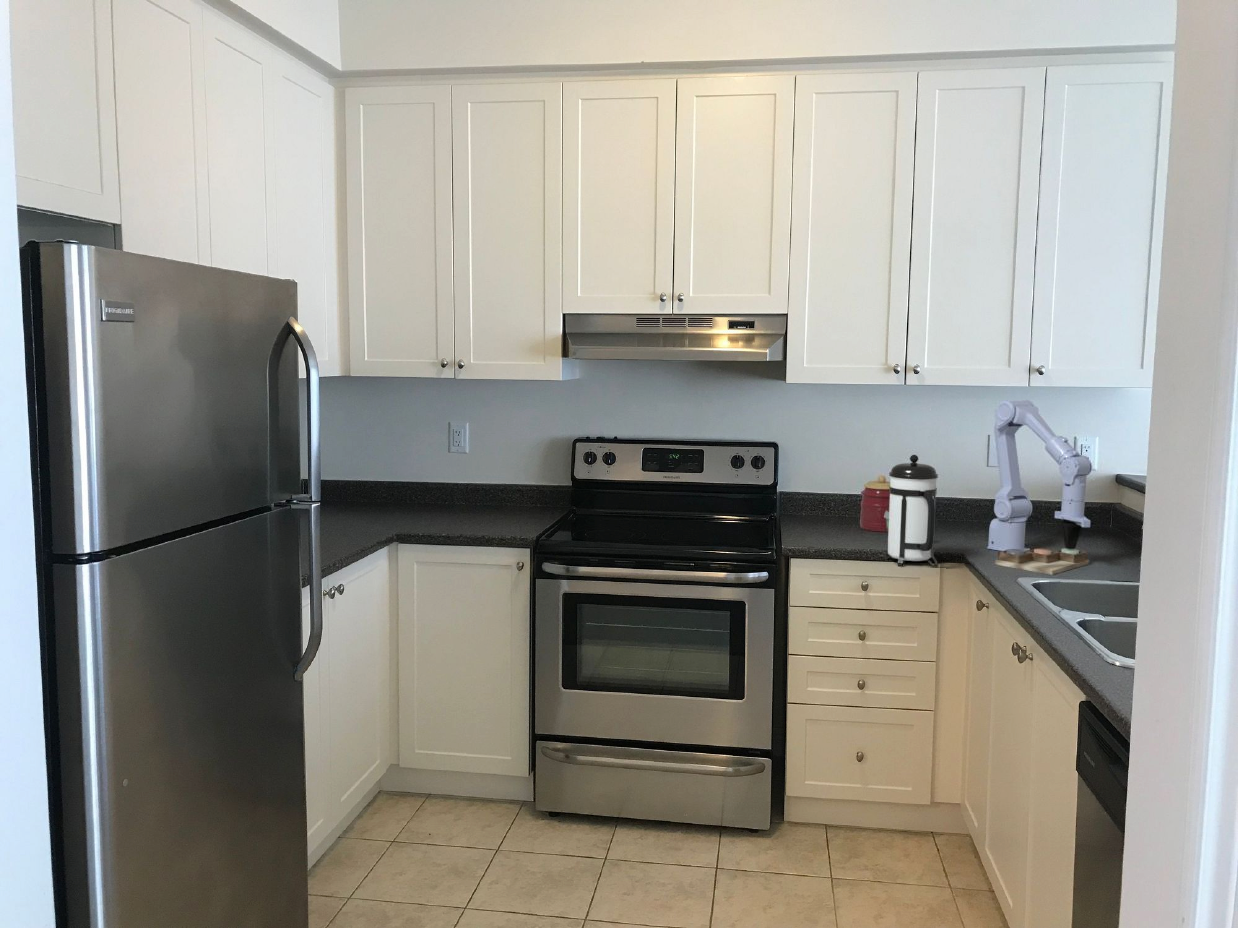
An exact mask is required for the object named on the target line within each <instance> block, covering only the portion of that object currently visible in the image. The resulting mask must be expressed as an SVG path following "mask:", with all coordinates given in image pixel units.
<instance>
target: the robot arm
mask: <svg viewBox="0 0 1238 928" xmlns="http://www.w3.org/2000/svg"><path fill="white" fill-rule="evenodd" d="M993 412H994V418H995V423H994V428H993V431H994V432H993V434H994V441H995V449H996V456H997V466H998V474H999V480H1000V481H999V482H1000V490H998V492H997V493H995V496H994V497H995V498H994V505H993V512H994V515H995V516H996V518H993V519H992V520H991V522H990V524H989V527H988V529H989V530H988V546H986V547H987V548H986V549H988V550H993V551H998V552H1000V551H1004V550H1007V549H1019V550H1023V551H1024V552H1026V551H1030V550H1031V548H1029V547H1025V540H1026V536H1025V535H1026V523H1027V522H1026V521H1028V518H1029V517H1030V516H1031V515H1032V512H1033V503H1032V502H1031V500H1030V497H1029V492H1028V491H1027V490H1026V489H1024V488H1023V486H1022V482H1021V475H1020V474H1021V473H1020V467H1019V465H1020V464H1019V459H1018V458H1019V457H1018V451H1017V450H1018V449H1017V442H1016V433H1017V432H1018V431H1019V429H1021V427H1023V426H1027V427H1028V428H1029V429H1031V431H1032V432H1034V434H1035V435H1036V436H1037V437H1038V438H1039V439H1040V440H1041V441H1042V442H1044V444H1045V446H1044V449H1045V451H1046V452H1047V453H1048V455H1050V457H1052V459H1053V460H1054V461H1055V462H1056V463H1057V464H1058V470H1059V473H1060V475H1061V481H1062V490H1061V491H1062V493H1061V508H1060V509H1061V510H1060V511H1059V510H1055V511H1054V519H1060V520H1063V521H1061V522H1059V521H1058V522H1057V523H1058V524H1057V526H1058V527H1059V529H1060V532H1061V534H1062V539H1063V544H1064V548H1067V549H1076V547H1077V544H1078V542H1079V539H1080V536H1081V534H1082V532H1083V531H1084V530H1085V529H1086V528H1091V520H1090V519H1088V518H1087V517H1086V516H1085V504H1086V491H1087V490H1086V489H1087V476H1089V475H1090V474H1091V472H1092V469H1093V465H1092V462H1091V459H1090V458H1089V457H1088V456H1087V455H1084V454H1081V453H1079V451H1078V450H1076V449H1075V448H1074V447H1073V445H1071V444H1070V443H1069V439H1068V438H1067V437H1064V436H1062V435H1056V433H1055V432H1054V431H1053V429H1051V427H1050V426H1049V425H1048V424H1047V422H1046V421H1045V419H1044V418H1043V417H1042V416H1041V414H1040V413H1039V408H1038V407H1037V406H1035V404H1034V403H1033V402H1032V401H1031V400H1028V399H1026V400H1002V401H1001V402H1000V403H999V404H998V405H997V406H996V408H995V409H994V411H993Z"/></svg>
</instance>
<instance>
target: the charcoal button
mask: <svg viewBox="0 0 1238 928" xmlns="http://www.w3.org/2000/svg"><path fill="white" fill-rule="evenodd" d="M1007 553H1010V554H1015V555H1022V554H1024V551H1023V550H1019V549H1007Z"/></svg>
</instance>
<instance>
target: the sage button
mask: <svg viewBox="0 0 1238 928" xmlns="http://www.w3.org/2000/svg"><path fill="white" fill-rule="evenodd" d="M1060 549H1061V552H1063V553H1069V554H1079V551H1080V550H1079V549H1077V548H1075V549H1067V548H1065V547H1063V548H1060Z"/></svg>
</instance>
